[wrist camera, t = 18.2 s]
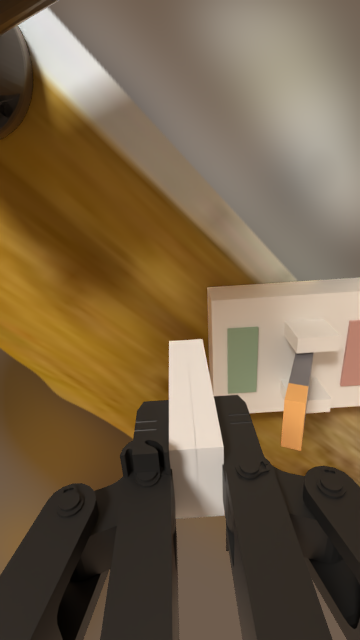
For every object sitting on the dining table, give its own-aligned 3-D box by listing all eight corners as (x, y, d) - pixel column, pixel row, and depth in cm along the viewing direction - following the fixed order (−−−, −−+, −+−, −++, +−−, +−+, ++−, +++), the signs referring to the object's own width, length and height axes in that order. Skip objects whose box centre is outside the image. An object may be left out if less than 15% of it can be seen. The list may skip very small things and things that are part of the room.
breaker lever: (295, 376, 48) (280, 446, 36) (299, 338, 45) (284, 399, 34) (310, 378, 47) (300, 450, 35) (315, 340, 45) (305, 403, 33)
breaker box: (210, 393, 55) (218, 440, 46) (207, 287, 48) (216, 316, 39) (357, 383, 56) (397, 428, 46) (376, 276, 48) (428, 302, 39)
